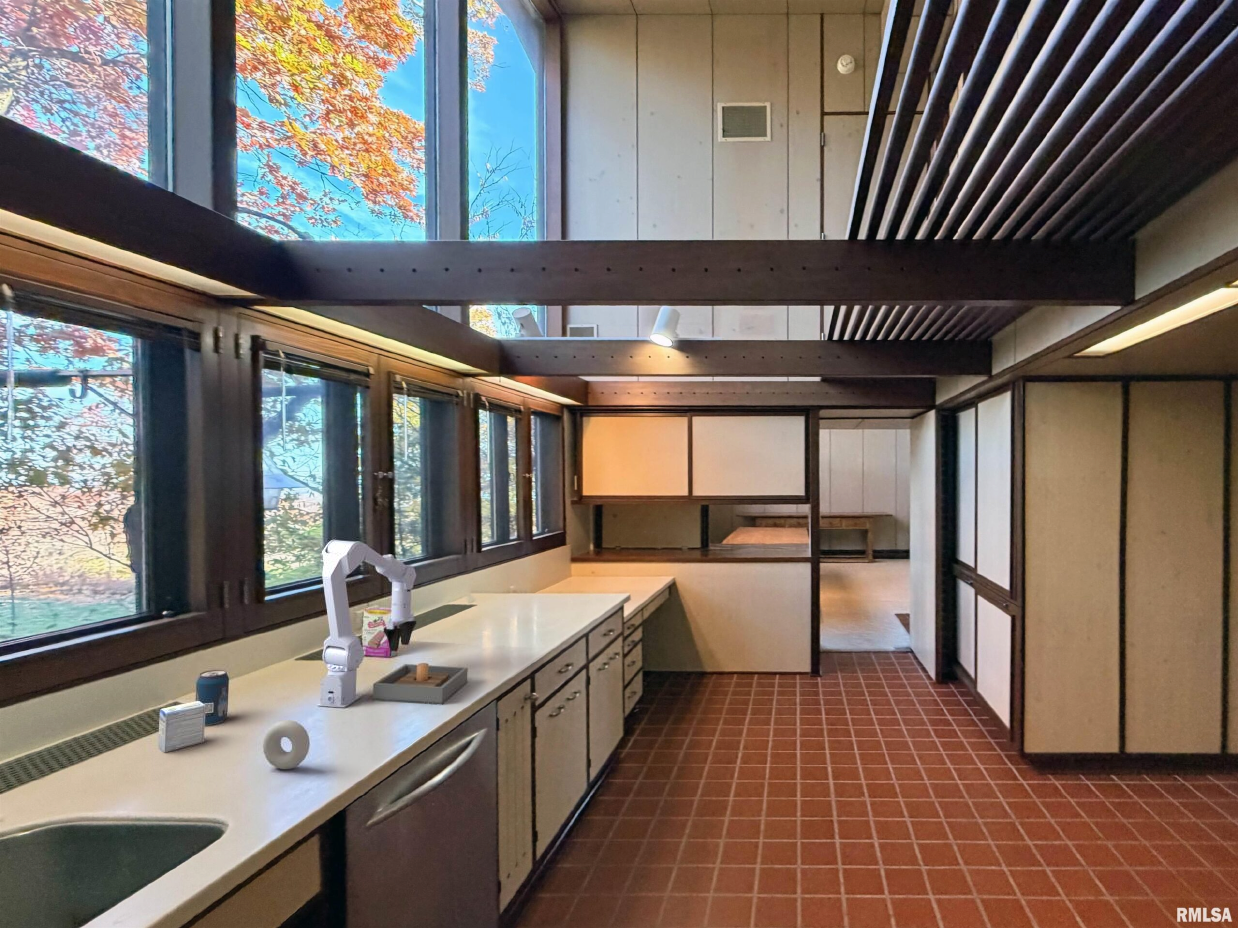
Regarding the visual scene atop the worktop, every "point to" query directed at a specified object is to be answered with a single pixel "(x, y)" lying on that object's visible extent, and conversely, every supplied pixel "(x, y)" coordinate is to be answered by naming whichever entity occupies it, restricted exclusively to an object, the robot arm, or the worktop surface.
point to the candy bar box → (376, 632)
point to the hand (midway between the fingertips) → (399, 647)
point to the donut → (275, 750)
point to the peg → (422, 672)
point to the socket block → (433, 680)
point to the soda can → (213, 695)
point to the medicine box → (181, 726)
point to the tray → (416, 693)
